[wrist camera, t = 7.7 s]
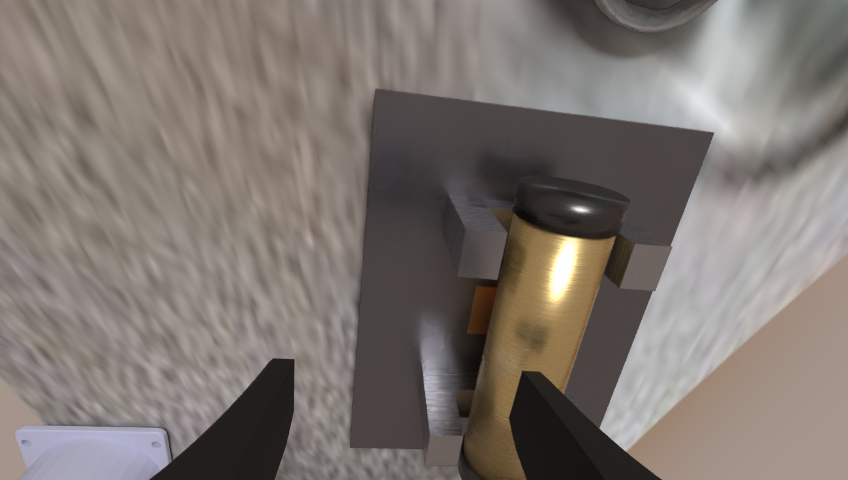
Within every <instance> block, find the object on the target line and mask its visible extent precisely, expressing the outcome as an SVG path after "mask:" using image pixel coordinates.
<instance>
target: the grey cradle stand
mask: <svg viewBox="0 0 848 480" xmlns="http://www.w3.org/2000/svg"><path fill="white" fill-rule="evenodd" d="M713 135H714V133H713V132H707V131H701V130H694V129H687V128H679V127H671V126H663V125H655V124H648V123H640V122H632V121H624V120H617V119H609V118H601V117H593V116H585V115H578V114H570V113H562V112H554V111H547V110H539V109H531V108H523V107H515V106H508V105H500V104H492V103H484V102H477V101H469V100H461V99H453V98H445V97H438V96H430V95H422V94H414V93H406V92H399V91H391V90H383V89H376V90H375V104H374V118H373V132H372V146H371V160H370V174H369V188H368V202H367V216H366V230H365V244H364V258H363V272H362V286H361V300H360V314H359V328H358V342H357V356H356V370H355V384H354V398H353V412H352V426H351V440H350V448H404V449H423V450H424V461H425V465H431V466H457V463H458V459H459V454H460V450H461V445H462V440H463V436H464V434H465V432H466V429H467V424H468V420H469V415H470V410H471V406H472V401H473V397H474V392H475V388H476V383H477V378H478V374H479V369H480V365H481V360H482V356H483V351H484V346H485V342H486V337H487V333H488V328H489V324H490V319H491V314H492V310H493V305H494V301H495V296H496V292H497V287H498V282H499V278H500V273H501V269H502V264H503V260H504V255H505V250H506V246H507V241H508V237H509V232H510V228H511V223H512V218H513V214H514V212H513V210H512V207H513V202H514V198H515V193H516V188H517V184H518V179H519V178H521V177H524V176H550V177H559V178H566V179H571V180H577V181H581V182H586V183H590V184H594V185H598V186H601V187H604V188H608V189H610V190H613V191H616V192H618V193H620V194H622V195H624V196H626V197H627V198H629V199H630V205H629V208H628V211H627V214H626V217H625V220H624V223H623V226H622V229H621V232H620V234H619V235H617V236H616V238H615V241H614V244H613V247H612V250H611V253H610V256H609V259H608V262H607V265H606V268H605V271H604V274H603V277H602V280H601V283H600V287H599V290H598V293H597V296H596V299H595V302H594V305H593V308H592V311H591V314H590V317H589V320H588V323H587V326H586V329H585V332H584V335H583V338H582V341H581V344H580V347H579V350H578V353H577V356H576V359H575V362H574V365H573V369H572V372H571V375H570V378H569V381H568V384H567V387H566V390H565V393H564V395H565V396H566V397H567V398H568V399H569V400H570V401H571V402H572V403H573V404H574V405H575V406H576V407H577V408H578V409H579V410H580V411H581V412H582V413H583V414H584V415H585V416H586V417H587V418H588V419H589V420H590V421H592V422H593V423H594V424H595V425H596V426H597V427H598V428H600V425H601V423H602V420H603V418H604V415H605V412H606V410H607V407H608V405H609V402H610V400H611V397H612V394H613V392H614V389H615V387H616V384H617V382H618V379H619V376H620V374H621V371H622V369H623V366H624V364H625V361H626V358H627V356H628V353H629V351H630V348H631V346H632V343H633V340H634V338H635V335H636V333H637V330H638V328H639V325H640V322H641V320H642V317H643V315H644V312H645V310H646V307H647V304H648V302H649V299H650V297H651V294H652V292H653V291H655V290H656V287H657V285H658V282H659V280H660V277H661V275H662V272H663V270H664V267H665V264H666V262H667V259H668V257H669V254H670V252H671V249H672V247H671V246H670V245H671V243H672V240H673V238H674V235H675V233H676V230H677V227H678V225H679V222H680V220H681V217H682V215H683V212H684V209H685V207H686V204H687V202H688V199H689V197H690V194H691V191H692V189H693V186H694V184H695V181H696V179H697V176H698V173H699V171H700V168H701V166H702V163H703V161H704V158H705V155H706V153H707V150H708V148H709V145H710V143H711V140H712V137H713Z"/></svg>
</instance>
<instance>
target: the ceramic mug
mask: <svg viewBox="0 0 848 480" xmlns="http://www.w3.org/2000/svg"><path fill="white" fill-rule="evenodd" d="M716 1H717V0H681V1H679V2H678V3H676V4H674V5H672V6H671V7H668V8H665V9H657V10H652V9H649V8H645V7H641V6H637V5H634V4H631V3H629V2H627V1H625V0H594V2H595V4H596V5H597V6H598V7H599V9H600V10H601V11H602V12H603V13H604V14H605V15H606V16H607V17H608V18H609V19H610V20H612V21H613V22H615V23H616V24H618V25H620V26H623V27H624V28H626V29H629V30H633V31H637V32H641V33H646V32H663V31H667V30H670V29H674V28H676V27H678V26H680V25H682V24H685V23H686V22H688V21H690V20H691V19H693V18H695V17H696V16H698V15H699V14H701V13H703V12H704V11H705V10H706V9H708V8H709V7H710V6H711V5H713V4H714V3H715V2H716Z"/></svg>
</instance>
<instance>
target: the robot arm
mask: <svg viewBox="0 0 848 480" xmlns="http://www.w3.org/2000/svg"><path fill="white" fill-rule="evenodd" d="M293 412H294V359H277V358H273V359H272V360H271V361H270V362H269V363H268V364H267V365H266V367H265V368H264V369H263V370H262V372H261V373H260V374H259V375H258V376H257V378H256V379H255V380H254V381H253V382H252V383H251V385H250V386H249V387H248V388H247V389H246V390H245V391H244V392H243V394H242V395H241V396H240V397H239V398H238V399H237V400H236V401H235V402H234V403H233V404H232V405H231V406H230V408H229V409H228V410H227V411H226V412H225V413H224V414H223V415H222V416H221V417H220V418H219V419H218V420H217V421H216V422H215V423H214V424H213V425H212V426H210V427H209V428H208V429H207V430H206V431H205V432H204V433H203V434H202V435H201V436H200V437H199V438H198V439H197V440H196V441H195V442H194V443H192V444H191V445H190V446H189V447H188V448H187V449H186V450H185V451H183V452H182V453H181V454H180V455H179V456H178V457H176V458H175V459H174V460H173V461H172V460H171V454H170V448H169V442H168V436H167V433H166V431H165V430H164V429H162V428H145V427H95V426H45V425H25V426H22V427H20V428H19V429H18V430H17V431H16V433H15V437H16V440H17V442H18V445H19V448H20V451H21V453H22V456H23V459H24V462H25V464H26V467H27V470H26V472H25V473H24V474H23V475H22V476H21V477H20V478H19V479H18V480H275V477H276V474H277V471H278V468H279V465H280V462H281V459H282V456H283V453H284V450H285V447H286V443H287V439H288V435H289V430H290V426H291V421H292V417H293ZM509 422H510V426H511V431H512V436H513V440H514V444H515V448H516V451H517V454H518V457H519V460H520V463H521V466H522V469H523V471H524V474H525V477H526V480H661V479H660V478H659V477H657V476H656V475H654V474H653V473H652V472H651V471H649V470H648V469H647V468H646V467H644V466H643V465H642V464H640V463H639V462H638V461H637V460H635V459H634V458H633V457H631V456H630V455H629V454H628V453H627V452H625V451H624V450H623V449H622V448H621V447H619V446H618V445H617V444H616V443H615V442H614V441H613V440H611V439H610V438H609V437H608V436H607V435H606V434H605V433H603V432H602V431H601V430H600V429H599V428H598V427H597V426H596V425H595V424H594V423H593V422H592V421H590V420H589V419H588V418H587V417H586V416H585V415H584V414H583V413H582V412H581V411H580V410H579V409H578V408H577V407H576V406H575V405H574V404H573V403H572V402H571V401H570V400H569V399H568V398H567V397H566V396H565V395H564V394H563V393H562V392H561V391H560V390H559V389H558V388H557V387H556V386H555V385H554V384H553V383H552V382H551V381H550V380H549V379H548V378H546V377H545V376H544V375H543V374H542V373H541V372H539V371H522V373H521V377H520V380H519V384H518V387H517V391H516V395H515V398H514V402H513V405H512V409H511V412H510V416H509Z"/></svg>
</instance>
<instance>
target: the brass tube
mask: <svg viewBox="0 0 848 480" xmlns="http://www.w3.org/2000/svg"><path fill="white" fill-rule="evenodd" d="M629 205H630V199H629V198H627V197H626V196H624V195H622V194H620V193H618V192H616V191H613V190H610V189H608V188H604V187H601V186H598V185H594V184H590V183H586V182H581V181H577V180H571V179H566V178H559V177H550V176H524V177H521V178H519V179H518V184H517V188H516V193H515V198H514V202H513V207H512V210H513V212H514V214H513V218H512V223H511V228H510V232H509V237H508V241H507V246H506V250H505V255H504V260H503V264H502V269H501V273H500V278H499V282H498V287H497V292H496V296H495V301H494V305H493V310H492V314H491V319H490V324H489V328H488V333H487V337H486V342H485V346H484V351H483V356H482V360H481V365H480V369H479V374H478V378H477V383H476V388H475V392H474V397H473V401H472V406H471V410H470V415H469V420H468V424H467V429H466V432H465V434H464V436H463V440H462V445H461V450H460V454H459V459H458V470H459V473H460V476H461V479H462V480H526V477H525V474H524V471H523V469H522V466H521V463H520V460H519V457H518V454H517V451H516V448H515V444H514V440H513V436H512V431H511V426H510V422H509V416H510V412H511V409H512V405H513V402H514V398H515V395H516V391H517V387H518V384H519V380H520V377H521V373H522V371H539V372H541V373H542V374H543V375H544V376H545V377H546V378H548V379H549V380H550V381H551V382H552V383H553V384H554V385H555V386H556V387H557V388H558V389H559V390H560V391H561V392H562V393H563V394H564V393H565V390H566V387H567V384H568V381H569V378H570V375H571V372H572V369H573V365H574V362H575V359H576V356H577V353H578V350H579V347H580V344H581V341H582V338H583V335H584V332H585V329H586V326H587V323H588V320H589V317H590V314H591V311H592V308H593V305H594V302H595V299H596V296H597V293H598V290H599V287H600V283H601V280H602V277H603V274H604V271H605V268H606V265H607V262H608V259H609V256H610V253H611V250H612V247H613V244H614V241H615V238H616V236H617V235H619V234H620V232H621V229H622V226H623V223H624V220H625V217H626V214H627V211H628V208H629Z"/></svg>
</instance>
